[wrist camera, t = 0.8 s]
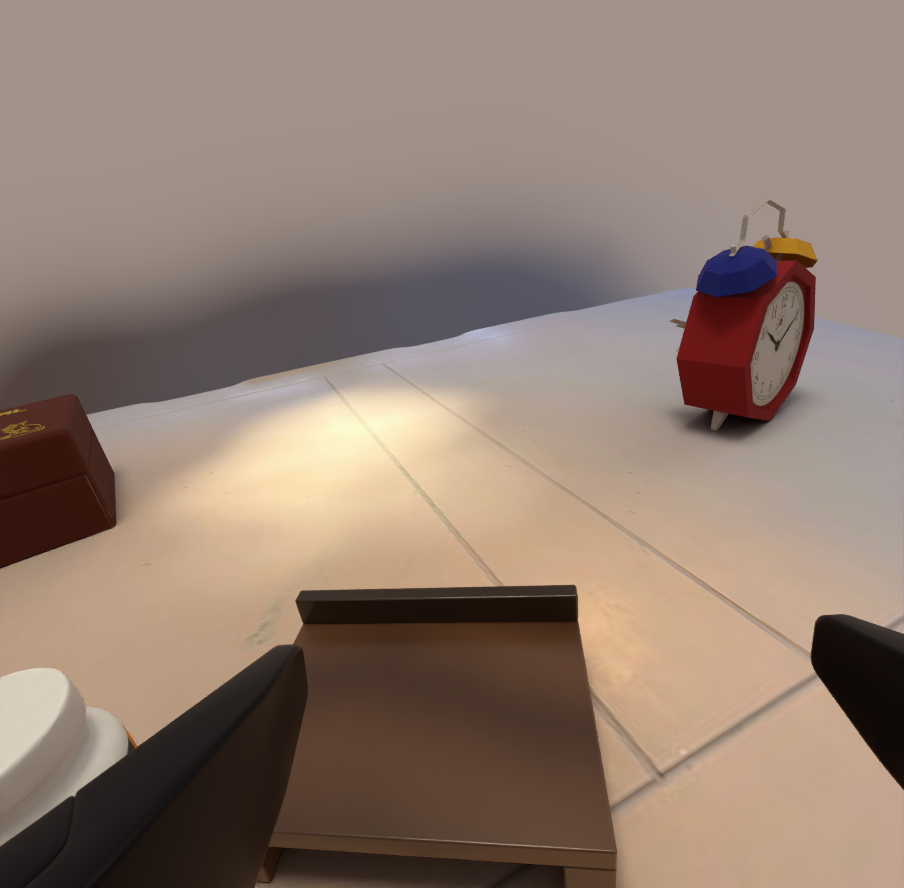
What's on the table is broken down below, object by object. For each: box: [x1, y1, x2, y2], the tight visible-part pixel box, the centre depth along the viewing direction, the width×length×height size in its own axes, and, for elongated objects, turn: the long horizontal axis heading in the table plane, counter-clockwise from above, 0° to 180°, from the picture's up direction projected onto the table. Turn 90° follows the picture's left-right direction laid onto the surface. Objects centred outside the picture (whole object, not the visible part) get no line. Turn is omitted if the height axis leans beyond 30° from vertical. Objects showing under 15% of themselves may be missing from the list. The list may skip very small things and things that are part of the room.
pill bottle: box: [0, 668, 138, 846], centre depth 16 cm, size 6×6×10 cm
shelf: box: [257, 585, 617, 888], centre depth 20 cm, size 10×14×5 cm
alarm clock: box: [669, 197, 817, 431], centre depth 46 cm, size 15×9×20 cm, turn 128°
